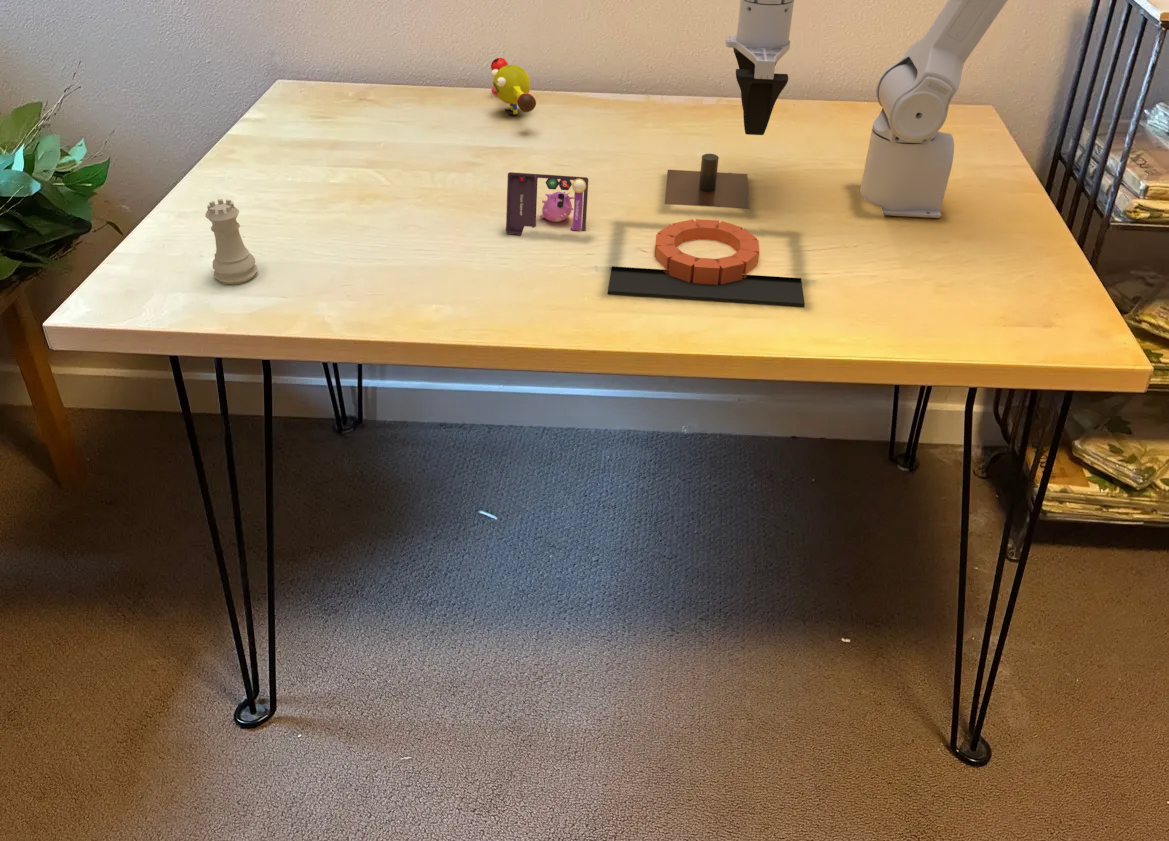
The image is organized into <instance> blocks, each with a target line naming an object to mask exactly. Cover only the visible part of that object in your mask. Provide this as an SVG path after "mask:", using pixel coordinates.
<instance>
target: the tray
mask: <svg viewBox="0 0 1169 841" xmlns="http://www.w3.org/2000/svg"><path fill="white" fill-rule="evenodd" d="M663 270H664V269H663ZM663 270H662V269H661V268H646V267H645V268H644V267H629V266H615V265H614V266H613V265H611V268H610V275H609V281H608V287H607V295H616V296H617V295H618V296H630V297H631V296H632V297H650V298H662V299H663V298H664V299H677V300H679V299H681V300H693V301H695V300H696V301H709V302H711V301H713V302H725V303H740V304H741V303H742V304H754V305H755V304H756V305H771V306H787V307H801V308H802V307H805V304H806V303H805V296H804V290H803V289H804V288H803V282H802V281H803V280H802V277H789V276H787V277H786V276H774V275H771V276H770V275H756V274H748V275H749V276H747V277H746V278H745V279H744V278H742V280H739V281H735V282H730V283H726V284H720V283H719V282H718V285H710V284H694V283H693V280H692V281H691V282H690V283H689V282H686V281H683V280H681V279H678V278H675V277H672V276H669V274H666V273H665V272H664V271H663Z"/></svg>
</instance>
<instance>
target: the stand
mask: <svg viewBox="0 0 1169 841" xmlns="http://www.w3.org/2000/svg"><path fill="white" fill-rule="evenodd" d="M719 159H720V158H719V156H718V155H717V154H714V153H705V154H702V155H701V161H700V170H686V169H685V170H683V169H667V173H666V184H665V196H664V205H672V206H673V205H674V206H675V205H676V206H693V207H707V208H708V207H709V208H726V209H741V210H742V209H743V210H745V209H746V210H750V208H751V207H750V193H749V192H750V191H749V179H748V178H749V177H748V173H740V172H739V173H738V172H737V173H736V172H720V171H718V169H719V168H718V167H719Z"/></svg>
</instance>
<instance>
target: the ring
mask: <svg viewBox="0 0 1169 841" xmlns="http://www.w3.org/2000/svg"><path fill="white" fill-rule="evenodd" d="M694 240H695V241H696V240H705V241H706V240H708V241H716V242H719V243H722V244H726V245H728V246H730V247H731V248H732V249H734V250H735V251H736V252H734V253H733V254H732V255H728V256H723V257H719V258H709V257H708V258H707V257H698V256H694V255H692V254H688V253H685V252H683V251H682V250H681V249H680V248H679V247H678V246H679V245H681V244H682V243H685V242H690V241H694ZM759 242H760V241H759V239H758V238H757V236H755V235H753V233H751V232H749V230H747V229H746V228H743V227H742V226H739V225H736V224H733V223H730V222H727V221H724V220H723V221H720V220H717V219H701V218H696V219H695V220H694V219H688V220H687V219H686V220H683V221H678V222H672V224H671V223H670V224H668V225H667V226H665V227H664V228H662V229H661V230H659V231H658V232H657V233H656V234H655V245H654V258H655V260H656V261H657V262H658V263H659V265H661V266H662V267H663V268H664V269H662V270H663V271H664V272H665V273H666V274H669V276H672V277H675V278H678V279H681V280H683V281H686V282H689V283H690V282H691V281H692V280H693V283H694V284H710V285H718V282H719V283H720V284H726V283H730V282H735V281H739V280H742V278H744V279H745V278H746V277H747V276H749V275H750V274H748V273H749V272H751V270H753V269H755V267H757V266H758V263H759V256H760V243H759Z"/></svg>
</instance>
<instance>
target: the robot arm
mask: <svg viewBox="0 0 1169 841" xmlns="http://www.w3.org/2000/svg"><path fill="white" fill-rule="evenodd" d="M1008 1H1009V0H947V1H946V3H945V4H944V6H943V8H942V9H941V10H940V12H939V14H937V17H936V18H935V20H934V21H933V23H932V24H931V26H930V28H929V29H928V30H927V32H926V34H925V35H924V36H923V37H922V38H920V39H919V40H917V41H916V42H914V43H913V44H911V45H910V46H909V47H908V49H907V50H906V52H905V53H904V54H903V55H902V57H901V58H900V59H899V60H898V61H896V62H895V63H894V64H892V65H890V66H889V67H888V68H886V69H885V70H884V72H883V73H882V74H881V76H880V77H879V78H878V81H877V85H876V89H875V90H876V91H875V92H876V100H877V102H878V104H879V106H880V107H881V111H880V112H879V114H878V116H877V117H876V118H875V120H874V121H873V122H872V128H871V133H870V138H869V143H868V148H867V152H866V157H865V161H864V162H865V163H864V168H863V173H862V177H861V182H860V189H859V195H860V197H861V198H862V199H863V200H864V201H866V202H867V203H870V204H872V205H875V206H878V207H881V211H882V214H883V216H892V217H893V216H895V217H912V218H928V219H929V218H930V219H939V218H941V216H942V213H941V210H942V206H943V203H944V199H945V194H946V191H947V187H948V183H949V178H950V174H951V171H952V168H953V161H954V154H955V140H954V137H953V134H952V133H950V132H943V131H940V130H941V128H942V127H943V126H944V124H945V123H946V120H947V117H948V114H949V113H948V112H949V107H950V104H951V101H952V99H953V98H954V96H955V95H956V93H957V92H958V90H959V88H960V84H961V78H962V73H963V69H964V66H965V63H966V61H967V60H968V58H969V57H970V56H971V54H972V52H973V51H974V50H975V48H977V45H978V44H979V43H980V41H981V39H982V38H983V37H984V35H985V34H986V32H987V31H988V29H989V28H990V27H991V26H992V24H993V23H994V21H995V19H996V18H997V17H998V15H999V14H1000V13H1001V11H1002V9H1003V8H1004V7H1005V5H1006V4H1007V2H1008ZM794 3H795V0H740V1H739V12H738V19H737V21H738V22H737V30H736V31H737V32H736V35H728V36H726V37H725V41H724V42H725V47H727V48H728V49H729V48H730V49H731V48H733V49H732V50H733V53H734V56H735V59H736V62H737V66H738V68H736V69H735V78H736V81H737V84H738V87H739V90H740V99H741V106H742V110H743V111H742V112H743V113H742V115H743V128H744V134H745V135H747V136H748V135H749V136H764V135H765V132H766V131H767V128H768V125H769V122H770V119H771V115H772V113H773V110H774V107H775V105H776V102H777V100H778V98H779V96H780V95H781V93H782V91H783V90H784V89H785V88H786V86H787V84H788V82H789V74H788V73H775V70H776V69H775V68H776V65H777V64H778V62H779V61H780V60H781V59H782V57H784V56H785V55H786V53H788V51H789V50H790V48H791V40H790V35H791V26H792V19H793V12H794Z"/></svg>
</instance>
